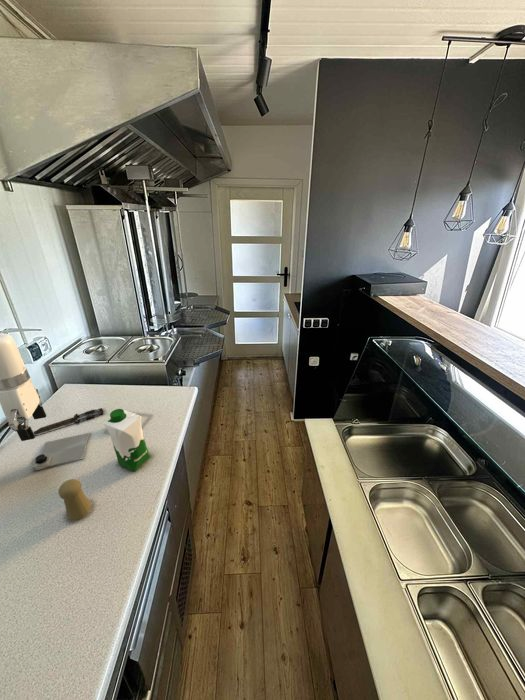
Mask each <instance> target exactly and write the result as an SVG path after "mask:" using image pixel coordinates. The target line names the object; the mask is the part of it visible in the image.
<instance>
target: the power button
mask: <svg viewBox="0 0 525 700" xmlns="http://www.w3.org/2000/svg"><path fill="white" fill-rule="evenodd" d="M34 459H35V460H36V462H37V463H38V464H39V463H42V462H44V461H45V460H46V457H45V455H44V454H41V453H40V454H39V455H37V456H36V457H35V458H34Z"/></svg>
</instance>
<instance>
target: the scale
mask: <svg viewBox="0 0 525 700" xmlns="http://www.w3.org/2000/svg"><path fill="white" fill-rule="evenodd" d="M89 437H90V433H89V432H88V433H83V434H79V435H74V436H69V437H65V438H60V439H56V440H51V441H46V442H45V444H44V446H43V448H42V451H41V453H40V455H41V454H44V455H45V457H46V460H45V461H44V462H42V463H39V464H38V463H37V462H36V460H35V458H34V459H32V460H31V463H30V465H31V468H32V469H33V470H34V471H40V470H43V469H47V468H52V467H57V466H61V465H65V464H69V463H73V462H77V461H82V460H83V459H84V456H85V452H86V449H87V445H88V441H89Z"/></svg>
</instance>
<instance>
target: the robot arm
mask: <svg viewBox="0 0 525 700" xmlns="http://www.w3.org/2000/svg"><path fill="white" fill-rule="evenodd" d="M0 406H1V409H2V412H3V415H4V416H5V419H6V421H7V422H8V427H9V428H10V429H11V430H12V431H13V432H16V433H17V435H18V437H19V439H20V441H21V442H26V441H30V440H34V439H35V438H36V435H34V433H33V432H34V431H33V429H32V427H31V426H29V419H30V418H31V417H32V418H33V419H34V420H39V419H45V418H46V417H47V413H46V411H45V409H44V407H43V402H42V401H41V396H40V394H39V390H38V388H36V387H35V385H34V383H33V382H32V380H31V376H30V373H29V371H28V369H27V367H26V365H25V362H24V360H23V357H22V355H21V353H20V351H19V348H18V346H17V344H16V341H15V339H14V337H13V336H12V335H11V334H7V333H0ZM20 422H23V424H20Z"/></svg>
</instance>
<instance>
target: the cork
mask: <svg viewBox="0 0 525 700" xmlns="http://www.w3.org/2000/svg"><path fill="white" fill-rule="evenodd" d="M82 486H83V485H82V483H81V481H80V480H79V479H76V478H71V479H67V480H66V481H64V482H63V483H61V485H60V486H59V488H58V496H59V497H60V498H61V499H62V500H63V502H64V508H65V511H66V516H67V518H68V520H69V521H71V522H75V521H76V522H77V521H80V520H82V519H84V518H85V517H87V515H89V513H90V512H91V511H92V508H93V506H92V505H93V504H92V503H91V501H90V500H89V498H88V497H87V495H86V494H85V493H84V491H83V490H82Z"/></svg>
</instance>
